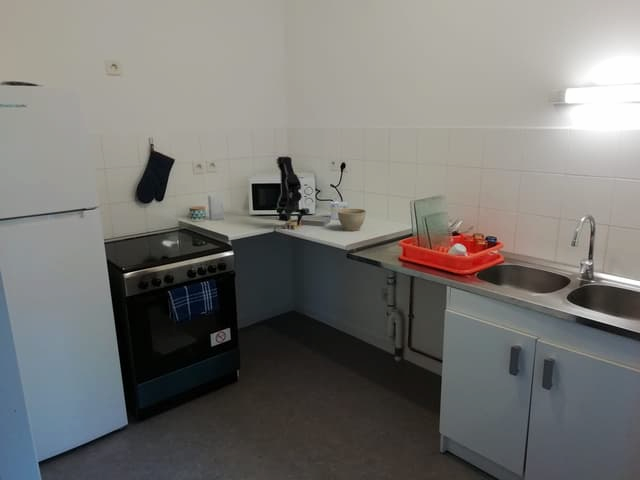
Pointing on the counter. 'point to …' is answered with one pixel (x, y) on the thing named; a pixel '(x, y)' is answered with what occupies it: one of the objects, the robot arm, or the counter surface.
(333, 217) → the light bulb box
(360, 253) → the counter surface
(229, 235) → the counter surface
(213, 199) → the skincare box
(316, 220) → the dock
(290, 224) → the pallet
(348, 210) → the planter bowl
